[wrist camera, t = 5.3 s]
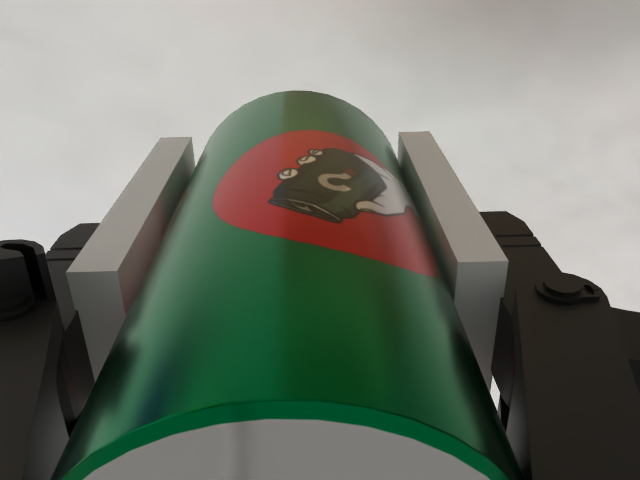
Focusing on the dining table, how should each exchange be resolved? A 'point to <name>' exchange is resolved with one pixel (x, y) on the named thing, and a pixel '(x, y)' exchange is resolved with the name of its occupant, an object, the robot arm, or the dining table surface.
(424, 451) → the soda can
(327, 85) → the dining table surface
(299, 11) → the dining table surface
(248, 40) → the dining table surface
